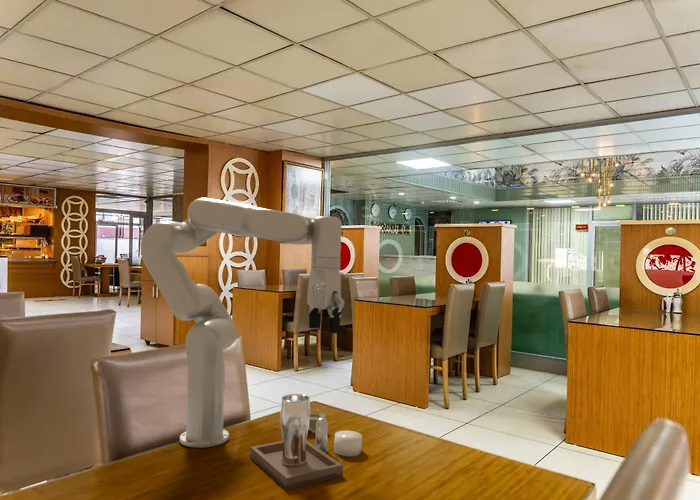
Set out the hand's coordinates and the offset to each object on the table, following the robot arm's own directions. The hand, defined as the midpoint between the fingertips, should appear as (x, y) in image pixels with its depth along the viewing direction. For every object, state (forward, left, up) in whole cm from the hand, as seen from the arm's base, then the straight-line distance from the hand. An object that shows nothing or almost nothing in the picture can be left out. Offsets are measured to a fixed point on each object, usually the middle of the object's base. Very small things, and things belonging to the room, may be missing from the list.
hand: (323, 330), depth 133 cm
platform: (-13, +3, -31) cm, 34 cm away
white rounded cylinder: (+5, +5, -30) cm, 31 cm away
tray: (+7, -11, -30) cm, 33 cm away
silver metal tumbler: (+7, -11, -30) cm, 32 cm away
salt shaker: (+2, -1, -30) cm, 30 cm away
